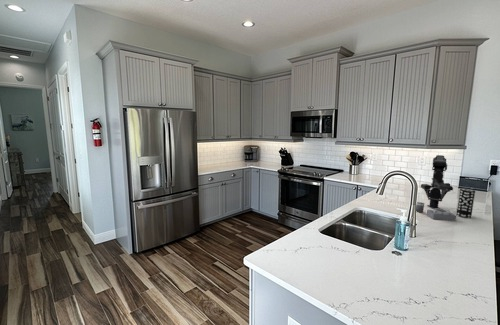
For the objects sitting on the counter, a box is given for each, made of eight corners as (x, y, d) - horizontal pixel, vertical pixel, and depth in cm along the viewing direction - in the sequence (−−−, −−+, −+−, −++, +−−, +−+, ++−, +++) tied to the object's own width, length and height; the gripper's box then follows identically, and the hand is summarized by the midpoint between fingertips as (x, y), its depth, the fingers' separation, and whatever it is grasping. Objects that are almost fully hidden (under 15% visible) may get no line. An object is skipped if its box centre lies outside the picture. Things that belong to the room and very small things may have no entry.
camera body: (426, 214, 178) (427, 207, 177) (447, 216, 175) (448, 209, 175) (433, 219, 169) (434, 211, 168) (455, 221, 166) (456, 213, 166)
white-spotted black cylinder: (474, 218, 172) (478, 191, 169) (462, 218, 172) (466, 191, 169) (464, 214, 180) (468, 188, 177) (453, 214, 180) (456, 188, 178)
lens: (413, 210, 188) (414, 201, 187) (421, 210, 187) (422, 202, 186) (417, 212, 183) (418, 203, 182) (424, 213, 182) (425, 204, 181)
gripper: (430, 179, 168) (427, 200, 170) (459, 180, 165) (456, 202, 167) (421, 176, 179) (419, 196, 181) (449, 177, 176) (446, 197, 178)
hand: (435, 198), depth 176 cm, fingers open, 9 cm apart
